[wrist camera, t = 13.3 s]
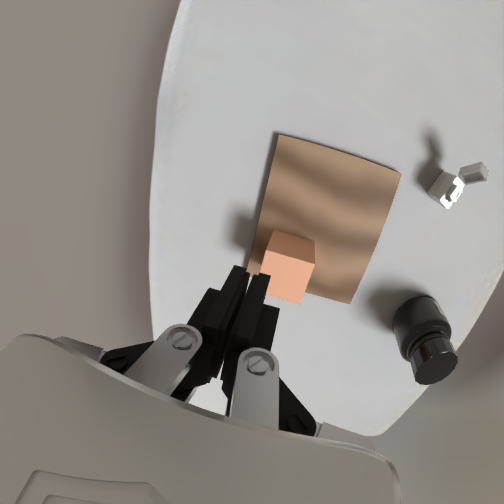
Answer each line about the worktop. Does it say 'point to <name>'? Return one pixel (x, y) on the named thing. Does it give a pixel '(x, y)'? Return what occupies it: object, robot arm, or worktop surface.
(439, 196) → the lighter
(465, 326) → the worktop surface
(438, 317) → the ink bottle
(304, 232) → the base board
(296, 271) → the salmon orange block
